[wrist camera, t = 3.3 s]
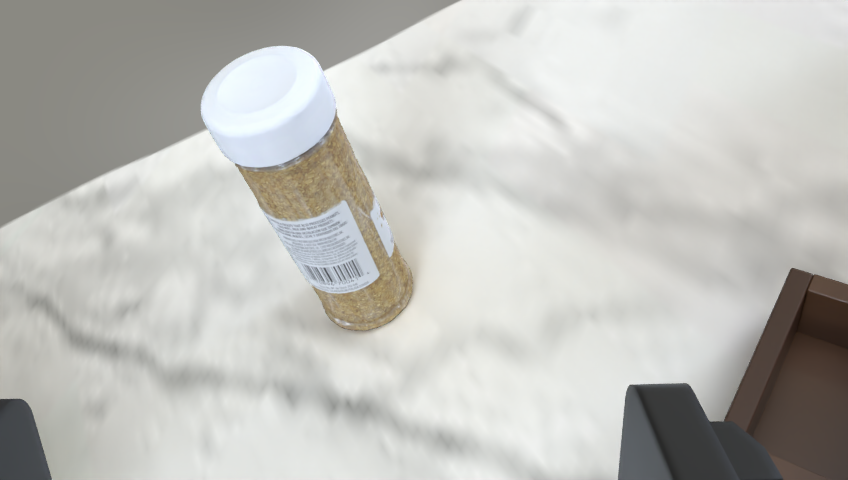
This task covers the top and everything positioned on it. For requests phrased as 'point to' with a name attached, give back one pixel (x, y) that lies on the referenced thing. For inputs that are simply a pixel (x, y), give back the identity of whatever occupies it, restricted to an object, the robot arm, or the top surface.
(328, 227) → the brown spice jar
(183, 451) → the top surface
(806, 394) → the tray
